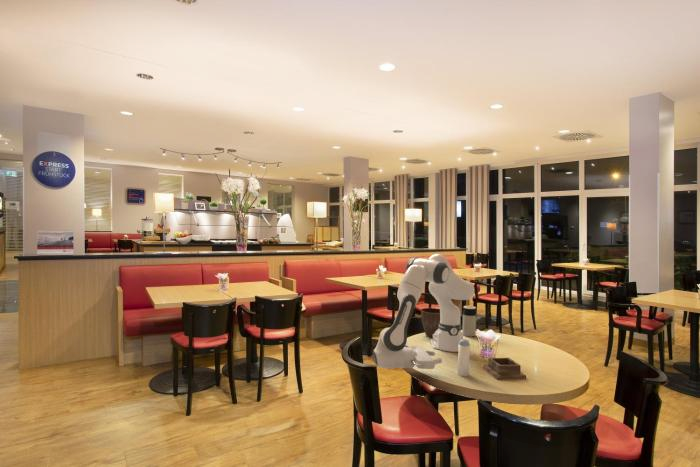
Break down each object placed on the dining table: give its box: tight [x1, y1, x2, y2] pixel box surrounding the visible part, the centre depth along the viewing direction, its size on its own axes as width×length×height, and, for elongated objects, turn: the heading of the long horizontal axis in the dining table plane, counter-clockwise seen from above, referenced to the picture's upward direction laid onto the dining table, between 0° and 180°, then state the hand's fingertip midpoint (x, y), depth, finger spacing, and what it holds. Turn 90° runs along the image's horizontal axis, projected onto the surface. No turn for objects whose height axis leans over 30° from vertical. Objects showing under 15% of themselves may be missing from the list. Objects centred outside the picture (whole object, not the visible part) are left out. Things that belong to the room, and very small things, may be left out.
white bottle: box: [457, 338, 471, 377], centre depth 182 cm, size 5×5×16 cm
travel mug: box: [461, 305, 477, 338], centre depth 247 cm, size 8×8×18 cm
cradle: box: [482, 357, 527, 381], centre depth 184 cm, size 14×14×6 cm
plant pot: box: [420, 307, 440, 338], centre depth 244 cm, size 15×15×16 cm
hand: (437, 356), depth 180 cm, fingers open, 8 cm apart
